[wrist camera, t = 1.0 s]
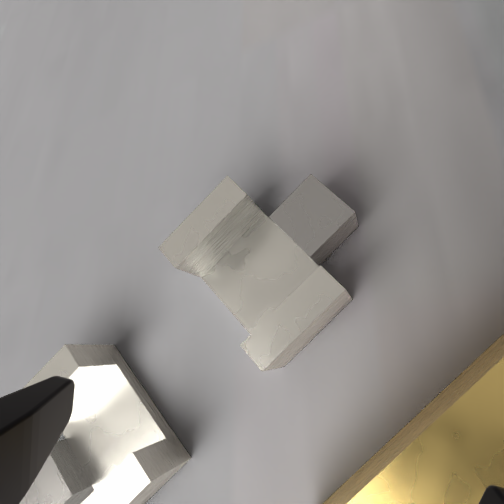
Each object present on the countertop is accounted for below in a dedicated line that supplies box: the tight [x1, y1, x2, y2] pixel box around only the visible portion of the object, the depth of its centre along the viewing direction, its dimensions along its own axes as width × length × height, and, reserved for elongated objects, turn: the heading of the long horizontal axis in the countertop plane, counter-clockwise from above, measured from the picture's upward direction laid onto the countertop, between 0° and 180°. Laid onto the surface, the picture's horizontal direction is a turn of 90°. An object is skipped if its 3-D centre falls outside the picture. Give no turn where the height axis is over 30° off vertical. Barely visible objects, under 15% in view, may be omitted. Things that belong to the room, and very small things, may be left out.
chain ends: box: [19, 174, 358, 504], centre depth 21 cm, size 8×23×4 cm, turn 132°
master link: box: [323, 334, 504, 504], centre depth 16 cm, size 4×14×5 cm, turn 131°
